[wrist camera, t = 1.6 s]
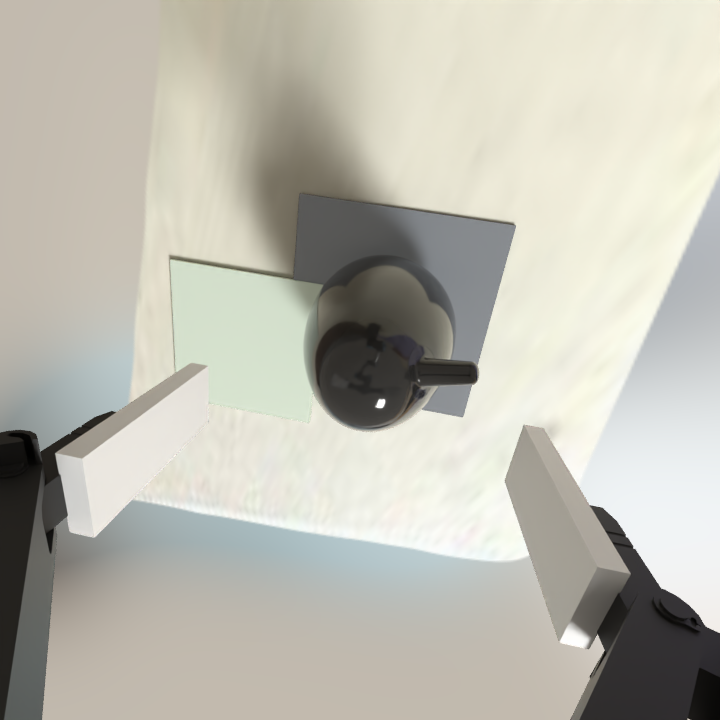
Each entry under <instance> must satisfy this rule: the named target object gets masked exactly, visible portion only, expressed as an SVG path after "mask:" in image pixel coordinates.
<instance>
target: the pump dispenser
mask: <svg viewBox="0 0 720 720" xmlns="http://www.w3.org/2000/svg"><path fill="white" fill-rule="evenodd" d="M455 340H456V320H455V314H454V310H453V306H452V303H451V301H450V298H449V296H448V294H447V292H446V290H445V289H444V287H443V286H442V284H441V283H440V282H439V280H438V279H437V278H436V277H435V276H434V275H433V274H432V273H431V272H429V271H428V270H427V269H425V268H424V267H423V266H421V265H419V264H418V263H416V262H414V261H411V260H409V259H406V258H403V257H399V256H393V255H373V256H367V257H363V258H360V259H357V260H355V261H353V262H351V263H349V264H347V265H345V266H344V267H342V268H341V269H339V270H338V271H337V272H336V273H334V274H333V275H332V276H331V277H330V278H329V279H328V281H327V282H326V283H325V284H324V286H323V287H322V288H321V290H320V291H319V293H318V295H317V297H316V299H315V301H314V303H313V305H312V308H311V310H310V313H309V316H308V319H307V323H306V327H305V332H304V341H303V356H304V365H305V370H306V374H307V378H308V381H309V384H310V387H311V390H312V392H313V394H314V396H315V398H316V400H317V401H318V403H319V404H320V406H321V407H322V408H323V410H324V411H325V412H326V413H327V414H328V415H329V416H330V417H331V418H332V419H334V420H335V421H336V422H338V423H339V424H341V425H343V426H345V427H347V428H350V429H353V430H356V431H362V432H378V431H384V430H388V429H391V428H394V427H396V426H399V425H401V424H402V423H404V422H406V421H408V420H409V419H410V418H412V417H413V416H414V415H416V414H417V413H418V412H419V411H420V410H421V409H422V408H423V407H424V406H425V405H426V404H427V403H428V402H429V400H430V399H431V398H432V397H433V395H434V394H435V393H436V391H437V390H438V388H439V387H440V386H459V385H474V384H475V383H476V382H477V381H478V378H479V368H478V366H477V364H476V363H475V362H472V361H461V360H452V357H453V353H454V347H455Z"/></svg>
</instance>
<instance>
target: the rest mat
mask: <svg viewBox="0 0 720 720" xmlns="http://www.w3.org/2000/svg"><path fill="white" fill-rule="evenodd" d="M170 272H171V291H172V311H173V330H174V350H175V370H176V372H178V371H179V370H181V369H182V368H184V367H185V366H187V365H188V364H190V363H196V364H201V365H206V366H208V385H209V404H213V405H218V406H223V407H228V408H233V409H238V410H243V411H249V412H254V413H259V414H264V415H269V416H274V417H279V418H284V419H290V420H295V421H300V422H305V423H309V422H310V417H311V407H312V398H313V392H312V390H311V387H310V384H309V381H308V378H307V374H306V370H305V365H304V356H303V341H304V332H305V327H306V323H307V319H308V316H309V313H310V310H311V308H312V305H313V303H314V301H315V299H316V297H317V295H318V293H319V291H320V290H321V288H322V287H323V285H322V284H316V283H310V282H304V281H298V280H293V279H289V278H283V277H277V276H271V275H265V274H259V273H253V272H247V271H241V270H235V269H229V268H223V267H217V266H211V265H205V264H199V263H193V262H187V261H181V260H175V259H170Z"/></svg>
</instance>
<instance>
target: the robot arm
mask: <svg viewBox="0 0 720 720" xmlns="http://www.w3.org/2000/svg"><path fill="white" fill-rule="evenodd" d="M208 422H209V385H208V366H206V365H201V364H196V363H190V364H188V365H187V366H185V367H184V368H182V369H181V370H179V371H178V372H176V373H175V374H173V375H172V376H170V377H169V378H167V379H166V380H164V381H163V382H161V383H160V384H158V385H157V386H155V387H154V388H152V389H151V390H149V391H148V392H146V393H145V394H143V395H142V396H140V397H139V398H137V399H136V400H134V401H133V402H131V403H130V404H128V405H127V406H125V407H124V408H122V409H121V410H119V411H118V412H113V411H111V412H108V413H105V414H102V415H100V416H97V417H94V418H93V419H91V420H90V421H88V422H87V423H85V424H84V425H82V427H79V428H77V429H76V430H74V431H72V432H71V434H68V435H66V436H65V437H63V438H61V439H60V440H58V441H57V442H55V443H53V444H52V445H51V446H49V447H47V448H46V449H44V450H43V451H41V452H40V449H39V444H38V439H37V436H36V434H35V433H33V432H31V431H25V430H15V431H14V430H13V431H6V432H1V433H0V720H42V711H43V700H44V687H45V676H46V663H47V652H48V651H47V650H48V639H49V627H50V615H51V603H52V590H53V578H54V567H55V554H56V542H57V541H56V540H57V533H56V528H55V526H56V525H58V524H59V523H60V522H61V521H62V520H63V519H64V518H66V517H67V520H68V525H69V531H70V532H72V533H76V534H80V535H85V536H89V537H93V538H94V537H96V536H97V535H98V534H99V533H100V532H101V531H102V529H103V528H105V527H106V526H107V525H108V524H109V523H110V521H111V520H112V519H113V518H114V517H115V516H116V515H117V514H118V513H119V512H120V511H121V510H122V509H123V508H124V507H125V506H126V505H127V504H128V503H129V502H130V501H131V500H132V499H133V498H134V497H135V496H136V495H137V494H138V493H139V492H140V491H141V490H142V489H143V488H144V487H145V486H146V485H147V484H148V483H149V482H150V481H151V480H152V479H153V478H154V477H155V476H156V475H157V474H158V473H159V472H160V471H161V470H162V469H163V468H164V467H165V466H166V465H167V464H168V463H169V462H170V461H171V460H172V459H173V458H174V457H175V456H176V455H177V454H178V453H179V452H180V451H181V450H182V449H183V448H184V447H185V446H186V445H187V444H188V443H189V442H190V441H191V440H192V439H193V438H194V437H195V436H196V435H197V434H198V433H199V432H200V431H201V430H202V429H203V427H204V426H205V425H206V424H207V423H208ZM505 483H506V486H507V489H508V492H509V495H510V498H511V501H512V504H513V507H514V510H515V513H516V516H517V519H518V522H519V525H520V528H521V531H522V534H523V537H524V540H525V543H526V546H527V549H528V552H529V554H530V557H531V560H532V563H533V566H534V569H535V572H536V575H537V578H538V581H539V584H540V587H541V590H542V593H543V596H544V599H545V602H546V605H547V608H548V611H549V614H550V617H551V620H552V623H553V626H554V629H555V632H556V635H557V638H558V641H559V643H563V644H568V645H572V646H577V647H581V648H585V649H589V648H590V647H591V644H592V643H593V641H594V639H595V637H596V636H597V634H598V636H599V638H600V640H601V642H602V645H603V647H604V649H605V651H604V653H603V654H602V656H601V658H600V660H599V661H598V663H597V665H596V667H595V668H594V670H593V672H592V673H591V675H590V680H589V682H588V684H587V687H586V689H585V691H584V693H583V695H582V697H581V699H580V701H579V703H578V705H577V707H576V709H575V711H574V713H573V715H572V717H571V719H570V720H687V718H688V719H690V720H720V633H718V632H715V631H714V630H711V629H709V628H707V627H705V625H704V624H703V622H702V620H701V618H700V617H699V615H698V614H697V613H696V612H695V611H694V610H693V609H692V608H691V607H690V606H689V605H688V604H686V603H685V602H684V601H683V600H681V599H680V598H679V597H677V596H676V595H674V594H672V593H670V592H668V591H666V590H664V589H661V588H660V586H659V585H658V583H657V582H656V580H655V579H654V577H653V576H652V574H651V573H650V571H649V569H648V568H647V566H646V565H645V563H644V562H643V560H642V559H641V557H640V556H639V554H638V553H637V551H636V550H635V549H633V545H632V544H631V542H630V541H629V539H628V538H627V537H626V534H625V533H624V531H623V530H622V528H621V527H620V525H619V524H618V522H617V521H616V520H615V519H614V518H613V517H612V516H611V515H609V514H608V513H607V512H606V511H605V510H604V509H603V508H601V507H596V506H591V505H589V503H588V502H587V500H586V498H585V497H584V495H583V493H582V492H581V490H580V488H579V487H578V485H577V483H576V482H575V480H574V478H573V477H572V475H571V473H570V472H569V470H568V468H567V467H566V465H565V463H564V462H563V460H562V458H561V457H560V455H559V453H558V452H557V450H556V448H555V447H554V445H553V443H552V442H551V440H550V438H549V437H548V435H547V433H546V432H545V430H544V428H539V427H534V426H528V425H524V426H523V429H522V432H521V434H520V437H519V440H518V443H517V446H516V449H515V452H514V455H513V458H512V461H511V463H510V466H509V469H508V472H507V475H506V478H505Z"/></svg>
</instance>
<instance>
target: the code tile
mask: <svg viewBox="0 0 720 720" xmlns="http://www.w3.org/2000/svg"><path fill="white" fill-rule="evenodd" d="M515 228H516V226H515V225H509V224H502V223H495V222H489V221H482V220H475V219H468V218H462V217H455V216H448V215H442V214H435V213H428V212H422V211H415V210H408V209H401V208H395V207H388V206H381V205H375V204H368V203H361V202H355V201H348V200H341V199H335V198H328V197H321V196H314V195H308V194H301V193H300V195H299V209H298V223H297V237H296V251H295V265H294V279H293V280H298V281H304V282H310V283H316V284H322V285H323V286H324V284H325V283H326V282H327V281H328V279H329V278H330V277H331V276H332V275H333V274H334V273H336V272H337V271H338V270H339V269H341V268H342V267H344V266H345V265H347V264H349V263H351V262H353V261H355V260H357V259H360V258H363V257H367V256H373V255H393V256H399V257H403V258H406V259H409V260H411V261H414V262H416V263H418V264H419V265H421V266H423V267H424V268H425V269H427V270H428V271H429V272H431V273H432V274H433V275H434V276H435V277H436V278H437V279H438V280H439V282H440V283H441V284H442V286H443V287H444V289H445V290H446V292H447V294H448V296H449V298H450V301H451V303H452V306H453V310H454V314H455V320H456V340H455V347H454V353H453V357H452V360H461V361H472V362H475V363H476V364H477V365H478V361H479V358H480V354H481V351H482V347H483V343H484V340H485V336H486V333H487V329H488V325H489V322H490V318H491V315H492V311H493V307H494V304H495V300H496V296H497V293H498V289H499V286H500V282H501V278H502V275H503V271H504V268H505V264H506V260H507V257H508V253H509V250H510V246H511V242H512V239H513V235H514V232H515ZM471 387H472V385H459V386H440V387H439V388H438V390H437V391H436V393H435V394H434V395H433V397H432V398H431V399H430V400H429V402H428V403H427V404H426V405H425V406H424V407H423V408H422V409H421V410H427V411H432V412H437V413H443V414H448V415H453V416H459V417H463V415H464V412H465V408H466V405H467V401H468V397H469V394H470V390H471Z"/></svg>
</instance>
